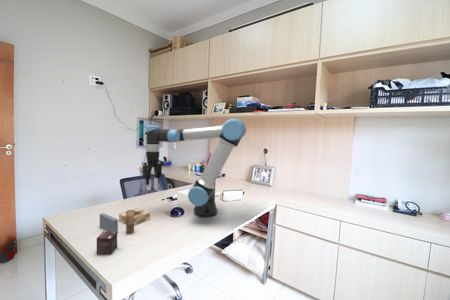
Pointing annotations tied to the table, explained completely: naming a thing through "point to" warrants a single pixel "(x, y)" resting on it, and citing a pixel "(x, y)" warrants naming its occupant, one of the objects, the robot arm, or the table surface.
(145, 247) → the table surface
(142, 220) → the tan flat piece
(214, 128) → the robot arm
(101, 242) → the box
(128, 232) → the dowel
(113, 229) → the board wall
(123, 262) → the table surface
